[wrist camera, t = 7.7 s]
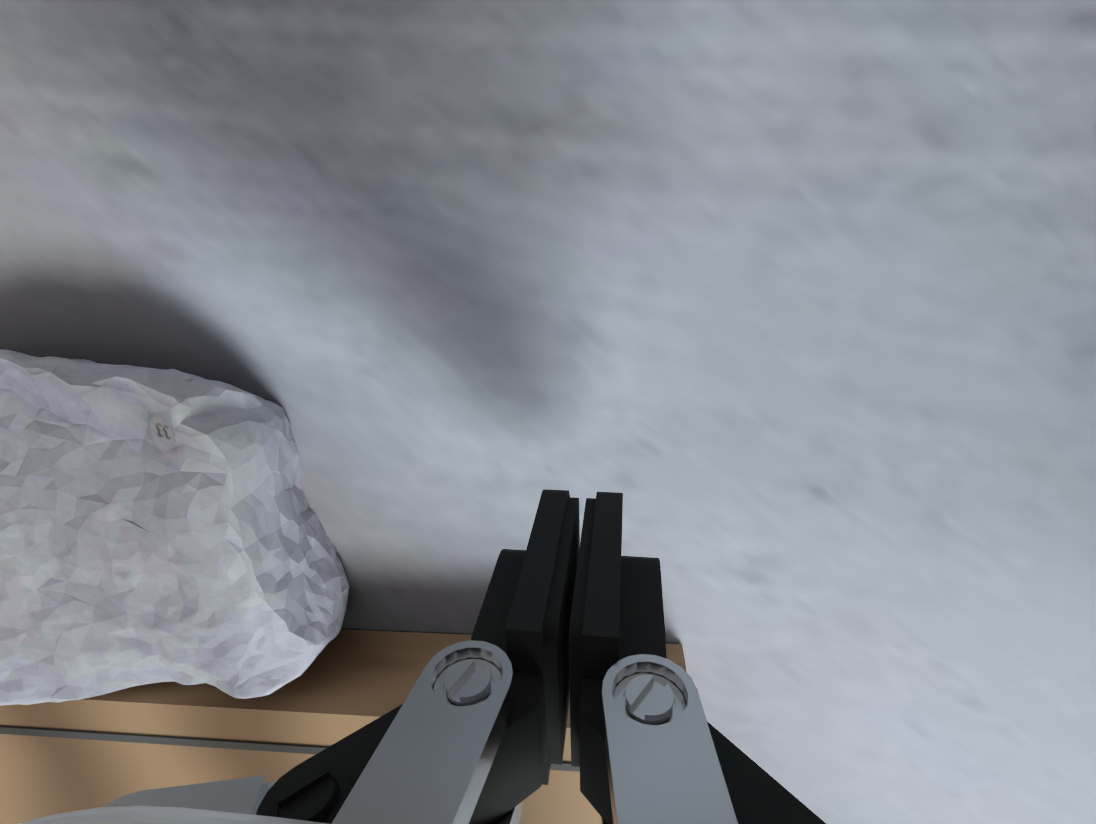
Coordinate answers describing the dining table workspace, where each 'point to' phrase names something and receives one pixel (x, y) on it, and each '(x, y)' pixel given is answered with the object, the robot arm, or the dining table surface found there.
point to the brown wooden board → (231, 732)
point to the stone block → (153, 535)
